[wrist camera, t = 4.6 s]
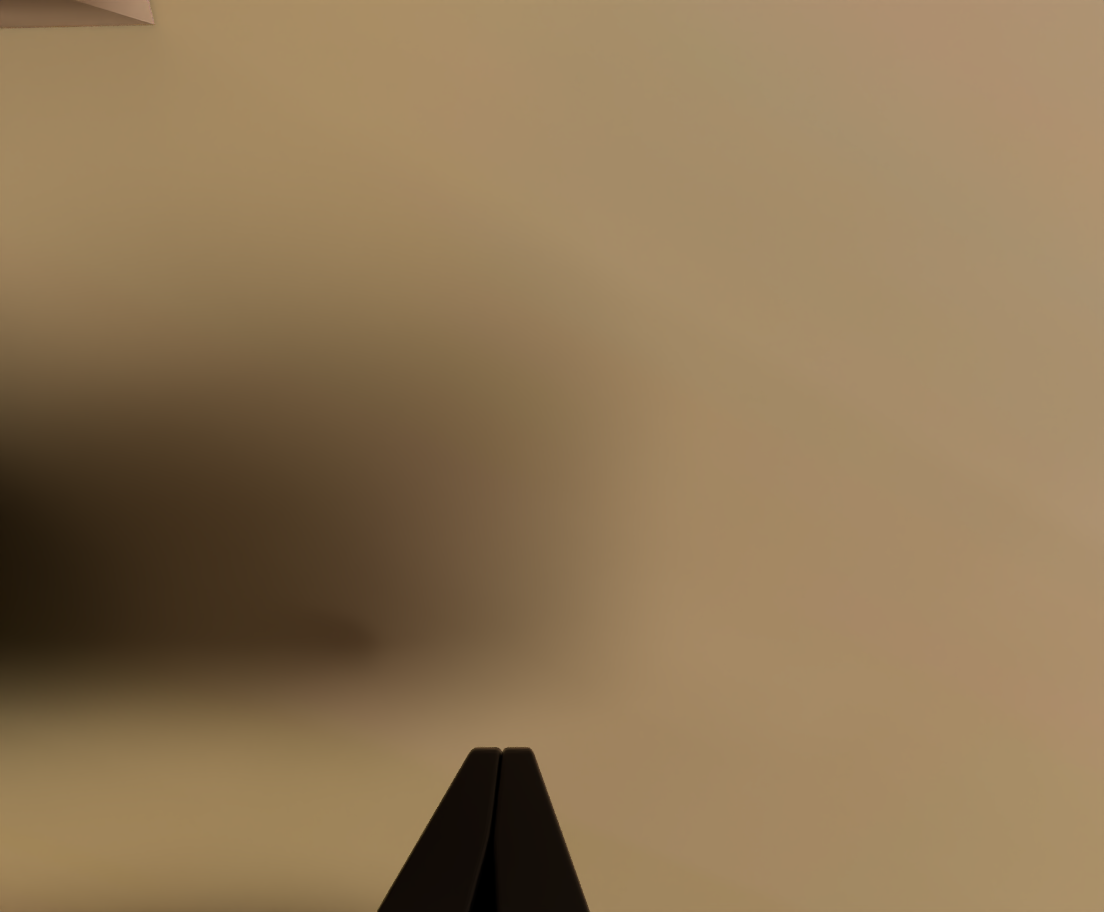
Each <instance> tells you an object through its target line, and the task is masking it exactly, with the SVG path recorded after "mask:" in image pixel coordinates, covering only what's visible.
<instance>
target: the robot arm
mask: <svg viewBox="0 0 1104 912" xmlns="http://www.w3.org/2000/svg"><path fill="white" fill-rule="evenodd" d="M377 912H590V911H589V908H588V905H587V902H586V899H585V896H584V894H583V891H582V888H581V885H580V882H579V879H578V877H577V874H576V871H575V868H574V865H573V862H572V860H571V857H570V854H569V851H568V848H567V845H566V843H565V840H564V837H563V834H562V831H561V828H560V826H559V823H558V820H557V817H556V814H555V812H554V809H553V806H552V803H551V800H550V797H549V795H548V792H547V789H546V786H545V783H544V780H543V778H542V775H541V772H540V769H539V766H538V763H537V761H536V758H535V755H534V753H533V751H532V749H530V748H528V747H508V748H505V749H504V750H503V752H502V751H501V749H500V748H497V747H477V748H474V749H472V750H471V752H470V753H469V754H468V756H467V758H466V759H465V761H464V763H463V764H462V766H461V768H460V770H459V771H458V773H457V775H456V776H455V778H454V780H453V782H452V783H451V785H450V787H449V788H448V790H447V792H446V794H445V795H444V797H443V799H442V800H441V802H440V804H439V806H438V807H437V809H436V811H435V812H434V814H433V816H432V818H431V819H430V821H429V823H428V824H427V826H426V828H425V830H424V831H423V833H422V835H421V836H420V838H419V840H418V842H417V843H416V845H415V847H414V848H413V850H412V852H411V854H410V855H409V857H408V859H407V860H406V862H405V864H404V866H403V867H402V869H401V871H400V872H399V874H398V876H397V878H396V879H395V881H394V883H393V884H392V886H391V888H390V890H389V891H388V893H387V895H386V896H385V898H384V900H383V902H382V903H381V905H380V907H379V908H378V910H377Z"/></svg>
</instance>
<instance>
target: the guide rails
mask: <svg viewBox="0 0 1104 912" xmlns="http://www.w3.org/2000/svg"><path fill="white" fill-rule="evenodd" d="M119 25H155V22H154V18H153V14H152V10H151V6H150V2H149V0H0V28H31V27H75V26H119Z"/></svg>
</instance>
